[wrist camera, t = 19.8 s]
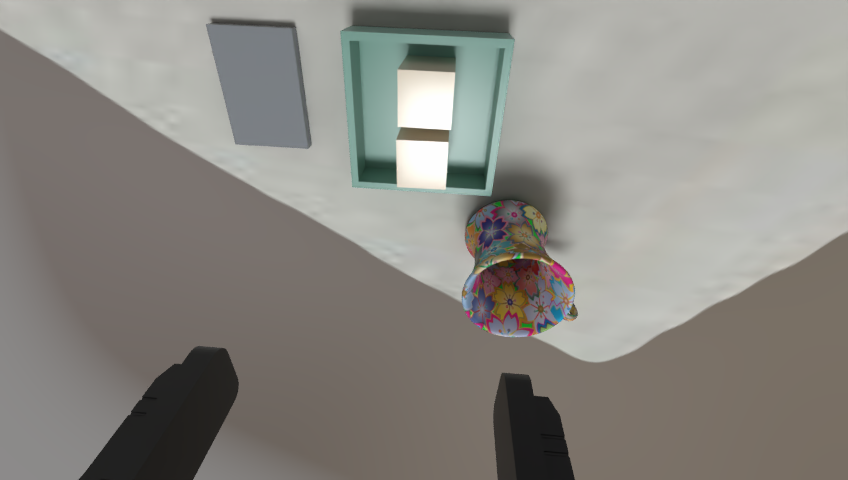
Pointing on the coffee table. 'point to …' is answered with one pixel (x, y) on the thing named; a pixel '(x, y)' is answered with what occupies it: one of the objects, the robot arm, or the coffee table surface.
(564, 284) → the floral patterned vase
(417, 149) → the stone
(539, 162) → the coffee table surface
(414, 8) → the coffee table surface
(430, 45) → the green bin
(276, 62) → the slate board
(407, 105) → the block
